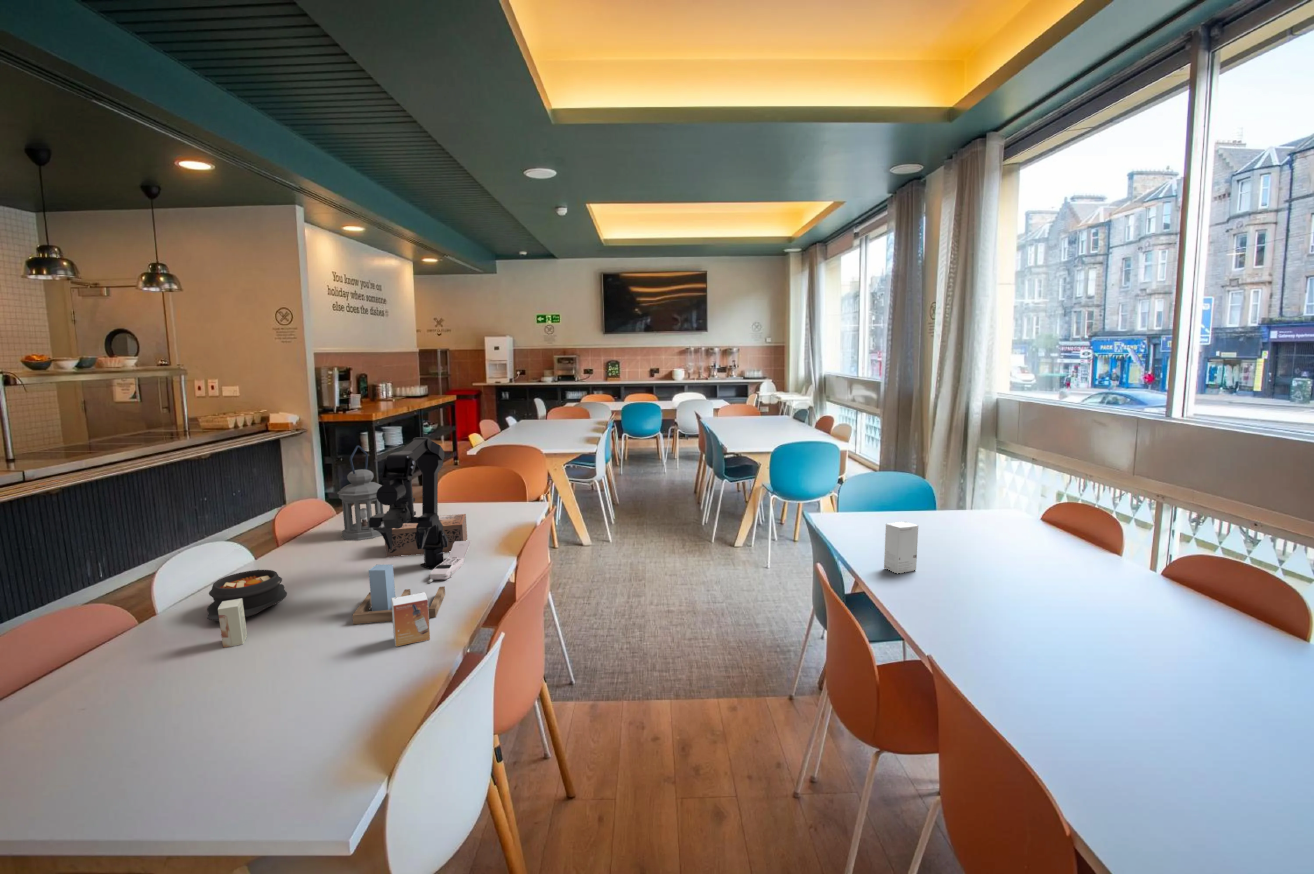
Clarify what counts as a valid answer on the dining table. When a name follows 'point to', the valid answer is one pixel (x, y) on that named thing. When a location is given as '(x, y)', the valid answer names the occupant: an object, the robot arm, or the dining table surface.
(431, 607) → the comb rack
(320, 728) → the dining table surface
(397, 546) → the tissue box cover
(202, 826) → the dining table surface
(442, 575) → the mobile phone
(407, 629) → the small box
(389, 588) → the pale blue tall block
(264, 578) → the casserole
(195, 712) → the dining table surface
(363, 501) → the lantern
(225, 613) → the skincare box
